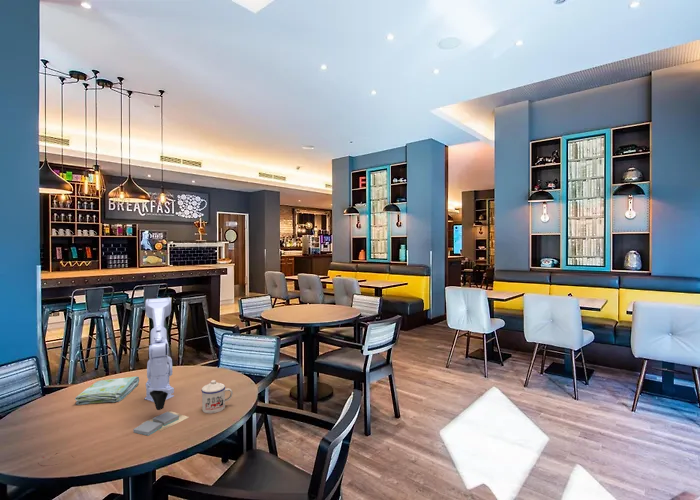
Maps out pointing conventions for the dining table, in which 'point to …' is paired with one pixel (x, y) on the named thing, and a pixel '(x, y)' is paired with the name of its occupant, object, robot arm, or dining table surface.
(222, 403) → the teacup with lid
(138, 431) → the tile
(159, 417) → the tile
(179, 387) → the dining table surface
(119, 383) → the towel
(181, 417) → the beige square board
